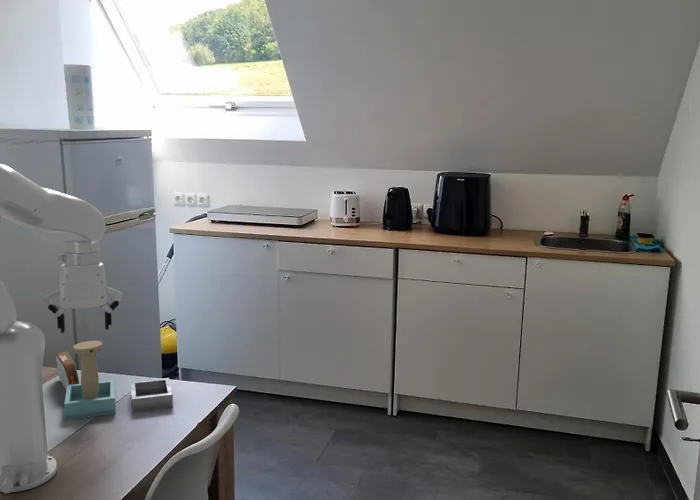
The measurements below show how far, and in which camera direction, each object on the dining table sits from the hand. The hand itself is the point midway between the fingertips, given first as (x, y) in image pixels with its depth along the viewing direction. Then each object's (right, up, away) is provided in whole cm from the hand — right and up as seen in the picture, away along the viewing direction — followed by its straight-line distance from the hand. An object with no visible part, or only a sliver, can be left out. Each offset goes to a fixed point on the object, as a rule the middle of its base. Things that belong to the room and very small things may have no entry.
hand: (85, 329), depth 152 cm
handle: (0, -19, +5) cm, 19 cm away
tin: (-11, -17, +16) cm, 26 cm away
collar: (+13, -19, +9) cm, 24 cm away
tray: (-1, -19, +5) cm, 20 cm away
